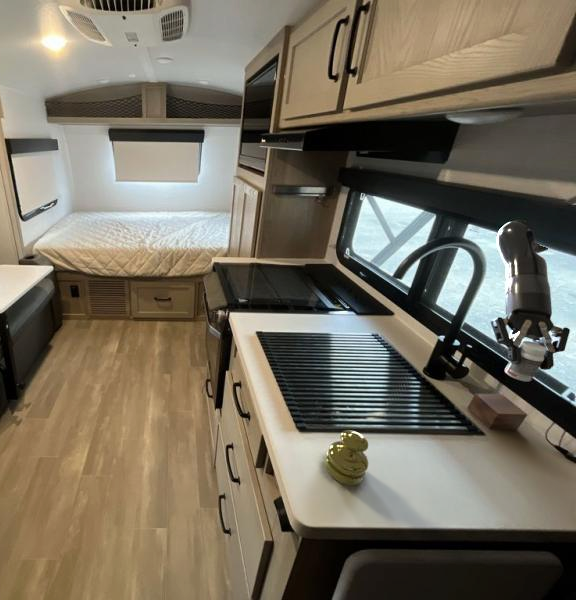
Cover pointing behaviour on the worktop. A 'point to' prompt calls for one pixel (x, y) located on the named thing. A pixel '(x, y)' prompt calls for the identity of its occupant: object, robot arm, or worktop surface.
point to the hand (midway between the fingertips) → (530, 366)
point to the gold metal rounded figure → (348, 458)
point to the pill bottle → (527, 361)
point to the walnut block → (496, 411)
